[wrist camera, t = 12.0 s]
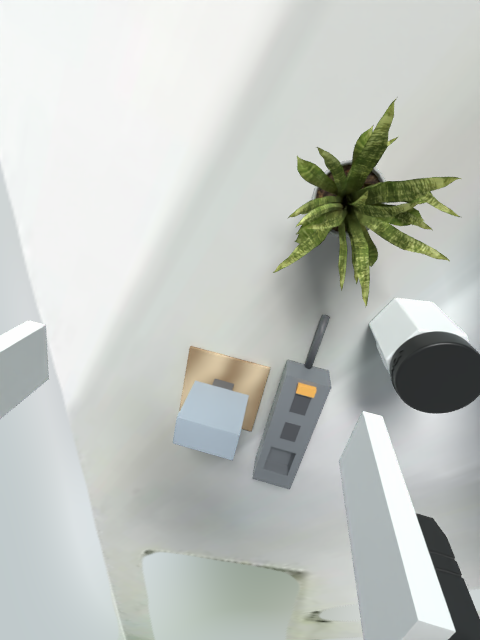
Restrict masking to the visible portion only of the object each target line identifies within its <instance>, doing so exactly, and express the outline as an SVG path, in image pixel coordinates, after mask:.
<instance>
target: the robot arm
mask: <svg viewBox="0 0 480 640" xmlns="http://www.w3.org/2000/svg"><path fill="white" fill-rule="evenodd" d="M48 379H49V375H48V358H47V338H46V325H44V324H41V323H37V322H33V321H29V320H28V321H26V322H24V323H22V324H21V325H19V326H17V327H15V328H14V329H11V330H10V331H8V332H6V333H4V334H2V335H0V419H1V418H2V417H3V416H4V415H6V414H7V413H8V412H9V411H11V410H12V409H13V408H14V407H15V406H17V405H18V404H19V403H20V402H22V401H23V400H24V399H25V398H26V397H28V396H29V395H30V394H31V393H32V392H33V391H35V390H36V389H37V388H38V387H40V386H41V385H42V384H43V383H44V382H46V381H47V380H48ZM339 464H340V471H341V479H342V486H343V493H344V501H345V508H346V515H347V522H348V530H349V537H350V544H351V551H352V559H353V566H354V573H355V581H356V588H357V595H358V602H359V610H360V617H361V624H362V631H363V639H364V640H480V619H479V616H478V614H477V611H476V609H475V606H474V604H473V601H472V599H471V596H470V594H469V591H468V589H467V586H466V584H465V581H464V579H463V578H461V575H462V574H461V572H460V569H459V567H458V564H457V562H456V561H455V560H454V558H455V557H454V554H453V552H452V549H451V547H450V544H449V542H448V539H447V537H446V536H445V534H444V533H443V532H442V530H441V529H440V527H439V526H438V525H437V523H436V522H435V521H434V519H433V518H430V517H427V516H423V515H420V514H416V513H415V510H414V508H413V505H412V502H411V499H410V496H409V493H408V490H407V487H406V484H405V481H404V478H403V475H402V472H401V469H400V466H399V464H398V461H397V458H396V455H395V452H394V449H393V446H392V443H391V440H390V437H389V434H388V431H387V428H386V425H385V422H384V420H383V417H382V416H380V415H376V414H372V413H369V412H365V411H362V413H361V415H360V417H359V420H358V422H357V424H356V426H355V428H354V430H353V432H352V435H351V437H350V439H349V441H348V443H347V445H346V447H345V449H344V452H343V454H342V456H341V458H340V460H339Z"/></svg>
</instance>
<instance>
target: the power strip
mask: <svg viewBox="0 0 480 640" xmlns="http://www.w3.org/2000/svg"><path fill="white" fill-rule="evenodd" d="M329 319H330V317H329V316H327V315H322V318H321V320H320V323H319V326H318V329H317V332H316V335H315V337H314V340H313V343H312V346H311V349H310V352H309V355H308V357H307V360H306V363H305V364H302V363H298V362H294V361H291V360H287V362H286V365H285V368H284V371H283V375H282V378H281V381H280V384H279V387H278V390H277V393H276V396H275V399H274V403H273V406H272V409H271V412H270V415H269V418H268V421H267V424H266V428H265V431H264V434H263V437H262V440H261V443H260V446H259V449H258V452H257V456H256V459H255V465H254V472H253V479H256V480H260V481H263V482H266V483H270V484H273V485H277V486H280V487H284V488H287V489H290V488H291V485H292V483H293V480H294V478H295V475H296V473H297V470H298V468H299V465H300V463H301V461H302V458H303V456H304V453H305V451H306V448H307V446H308V443H309V441H310V438H311V436H312V433H313V431H314V428H315V426H316V424H317V421H318V419H319V416H320V414H321V411H322V409H323V406H324V404H325V401H326V399H327V396H328V394H329V392H330V389H331V382H330V376H329V371H328V370H324V369H321V368H317V367H313V366H312V365H313V363H314V360H315V357H316V354H317V352H318V349H319V346H320V343H321V341H322V338H323V335H324V332H325V330H326V327H327V324H328V321H329Z"/></svg>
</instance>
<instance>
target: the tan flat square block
mask: <svg viewBox="0 0 480 640" xmlns="http://www.w3.org/2000/svg"><path fill="white" fill-rule="evenodd" d="M269 371H270V367H267V366H263V365H259V364H255V363H252V362H248V361H244V360H241V359H237V358H233V357H230V356H226V355H222V354H218V353H215V352H211V351H207V350H204V349H200V348H196V347H193V346H191V347H190V349H189V355H188V361H187V367H186V373H185V379H184V385H183V391H182V397H181V403H180V409H179V411H180V410H181V408H182V406H183V404H184V402H185V400H186V398H187V396H188V394H189V392H190V390H191V388H192V386H193V384H194V382H195V381H199V382H202V383H206V384H210V385H212V384H213V382H214V379H219V380H222V381H226V382H229V383H233V384H234V386H233V390H232V391H235V392H239V393H242V394H246V395H249V397H248V401H247V406H246V410H245V415H244V419H243V423H242V428H241V429H244V430H248V431H252V428H253V424H254V421H255V418H256V414H257V411H258V408H259V404H260V401H261V398H262V394H263V391H264V388H265V384H266V381H267V378H268V374H269Z"/></svg>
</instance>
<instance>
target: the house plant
mask: <svg viewBox="0 0 480 640" xmlns="http://www.w3.org/2000/svg"><path fill="white" fill-rule="evenodd" d="M396 99H397V98H396ZM396 99H395V100H396ZM395 100H394V101H395ZM394 101H393V102H392V103H391V105H390V106H389V107H388V109H387V110H386V112H385V114H384V115H383V117H382V118H381V119H380V121H379V122H378V124H377V126H376V128H375V130H374V131H373V132H372V129H373V126H372V127H371V128H370V129H369V130H367V131H366V132H364V133H363V134H361V136H360V137H359V139H358V140H357V142H356V145H355V147H354V152H353V159H352V160H348V161H343V162H339V161H338V160H337V159H336V158H335V157H334V156H333V155H331V154H330V153H329V152H327V151H324V150H322V149H321V148H318V147H317V148H318V150H319V153H320V155H321V156H322V157H323V158H324V161H325V165H326V167H327V168H328V170H327V171H326V172H325V173H324V172H323V171H322V170H321V169H320V168H319V167H318V166H317V165H315V164H313V163H311V162H308V161H305V160H303V159H300V158H299V157H298V156H297V159H298V166H297V170H298V172H299V174H300V175H301V177H302V178H303V179H304V180H306V181H307V182H309V183H311V184H313V185H315V188H314V191H313V196H312V200H311V201H309V202H307V203H306V204H304V205H303V206H301V207H300V208H299V209H297V210H296V211H295V212H294V213H293V214H291V215H290V216H289V217H295V216H297V215H299V214H307V213H308V214H307V215H306V216H305V217H304V218H303V219H302V220H301V221H300V222H299V223H298V224H297V226H299V225H302V226H301V228H300V229H299V231H298V233H297V234H299V235H298V238H297V240H296V241H295V242H297V243H299V245H298V246H297V247H296V249H295V250H294V251H293V252H292V254H291V255H290V256H289V257H288V258H287V259H286V260H284V261H283V262H282V263H281V264H280V265H279V266H278V267H277V269H276V270H275V271H274V272H277V271H279V270H281V269H283V268H285V267H287V266H289V265H290V264H292V263H294V262H295V261H297V260H299V259H300V258H302V257H303V256H304V255H306V254H307V253H308V252H310V251H311V250H312V249H314V248H315V247H317V246H318V245H320V244H321V243H322V242H323V241H324V240H325V238H326V236H327V235H328V233H330V234H332V235H334V236H338V237H339V240H340V249H339V265H338V267H339V274H340V286H341V290H342V288H343V284H344V279H345V273H346V260H347V242H346V237H350V241H351V248H352V263H353V267H354V277H355V280H356V284H357V281H358V277H359V281H360V284H361V288H362V297H363V300H364V302H365V305H366V306H367V301H368V294H369V281H370V273H369V266H371V267H372V266H373V264H374V263H375V261H376V260H377V257H378V252H377V248H376V246H375V245H374V243H373V241H372V240H371V238H370V236H369V233H368V231H367V230H369V229H371V230H372V231H374V232H375V233H376V234H378V235H379V236H381V237H382V238H383V239H385V240H387V241H388V242H390V243H391V244H393V245H395V246H397V247H399V248H401V249H403V250H407V251H412V252H417V253H422V254H425V255H427V256H430V257H433V258H436V259H443V260H448V261H449V259H448V258H447V257H445V256H444V255H442V254H441V253H439V252H438V251H437V250H435V249H433V248H431V247H430V246H428V245H426V244H424V243H422V242H421V241H418V240H416V239H414V238H412V237H410V236H408V235H406V234H404V233H403V232H401V231H399V230H398V229H396V228H395V227H393V226H392V225H390V224H393V225H398V226H406V225H410V224H412V225H416V226H419V227H421V228H424V229H431V228H430V227H429V226H428V225H427V224H425V223H424V222H423V219H422V217H421V215H420V213H419V211H418V210H416V209H414V208H413V207H414V206H416V205H417V204H422V203H425V202H427V203H428V204H430V205H432V206H434V207H435V208H437V209H439V210H441V211H443V212H446V213H448V214H451V215H454V216H457V217H460V216H458V215H457V214H456V213H454V212H453V211H452V210H451V209H449V208H447V207H446V206H444V205H443V204H441V203H440V202H439V201H438V200H437V199H436V198H435V197H433V196H432V194H431V192H430V191H433V190H436V189H439V188H443V187H446V186H447V185H449V184H450V183H452V182H453V181H455V180H456V179H461V178H457V177H432V178H421V179H413V180H406V181H387V182H386V180H385V179H384V177H383V175H382V173H381V172H380V171H379V170H378V169H377V168H376V167H375V166H376V164H377V163H378V161H379V160H380V158H381V157H382V155H383V153H384V152H385V150H386V148H387V147H388V146H389V145H390V144H391V143H392V142H394V141H395V140H396V139H397V138H398V137H399V136H398V137H397V138H395V139H392V140H390V141H388V131H389V128H390V126H391V123H392V120H393V117H394ZM390 202H407V203H406V204H401V205H397V206H396V205H387V203H390ZM289 217H288V218H289ZM389 223H390V224H389ZM297 226H296V227H297ZM296 227H295V228H296ZM274 272H273V273H274Z"/></svg>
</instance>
